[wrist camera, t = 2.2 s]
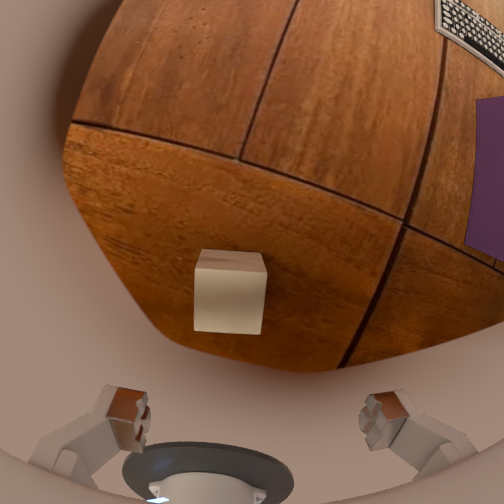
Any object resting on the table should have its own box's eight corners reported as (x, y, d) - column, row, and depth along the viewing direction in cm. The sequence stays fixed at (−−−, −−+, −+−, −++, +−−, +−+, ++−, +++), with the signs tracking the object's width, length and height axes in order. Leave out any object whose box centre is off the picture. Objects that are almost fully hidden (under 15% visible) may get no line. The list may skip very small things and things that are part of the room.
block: (255, 305, 24) (260, 335, 20) (200, 302, 23) (193, 331, 19) (261, 252, 23) (267, 272, 18) (201, 248, 22) (194, 268, 18)
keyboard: (434, 30, 18) (443, 25, 16) (430, -11, 16) (437, -16, 14) (528, 99, 19) (536, 99, 18) (524, 60, 18) (532, 59, 16)
